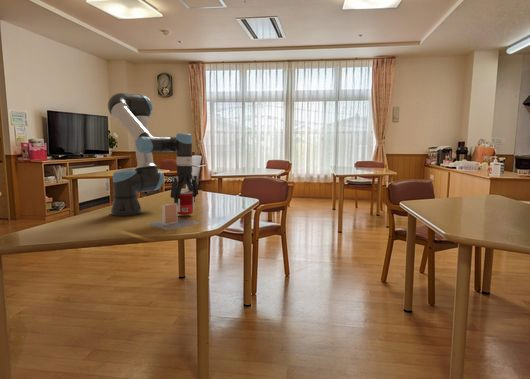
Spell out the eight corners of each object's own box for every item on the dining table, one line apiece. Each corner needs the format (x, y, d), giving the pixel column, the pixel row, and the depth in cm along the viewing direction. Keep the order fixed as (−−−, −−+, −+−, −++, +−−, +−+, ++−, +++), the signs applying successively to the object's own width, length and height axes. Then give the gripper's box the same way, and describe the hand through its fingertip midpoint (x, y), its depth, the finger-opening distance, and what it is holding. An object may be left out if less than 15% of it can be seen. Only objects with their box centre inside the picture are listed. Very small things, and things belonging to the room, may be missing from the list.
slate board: (145, 226, 168) (144, 223, 167) (177, 220, 181) (177, 217, 181) (168, 233, 156) (168, 230, 156) (201, 225, 170) (201, 223, 169)
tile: (162, 224, 166) (162, 204, 165) (175, 221, 171) (175, 202, 170) (164, 225, 165) (164, 205, 164) (177, 222, 170) (177, 203, 169)
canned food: (196, 212, 186) (196, 191, 184) (184, 215, 180) (184, 193, 178) (185, 210, 190) (185, 189, 189) (173, 213, 184) (173, 191, 182)
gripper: (171, 166, 171) (171, 214, 175) (205, 164, 187) (205, 208, 190) (161, 165, 176) (162, 212, 179) (196, 163, 192) (196, 206, 195)
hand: (184, 210), depth 185 cm, fingers closed on canned food, 8 cm apart
